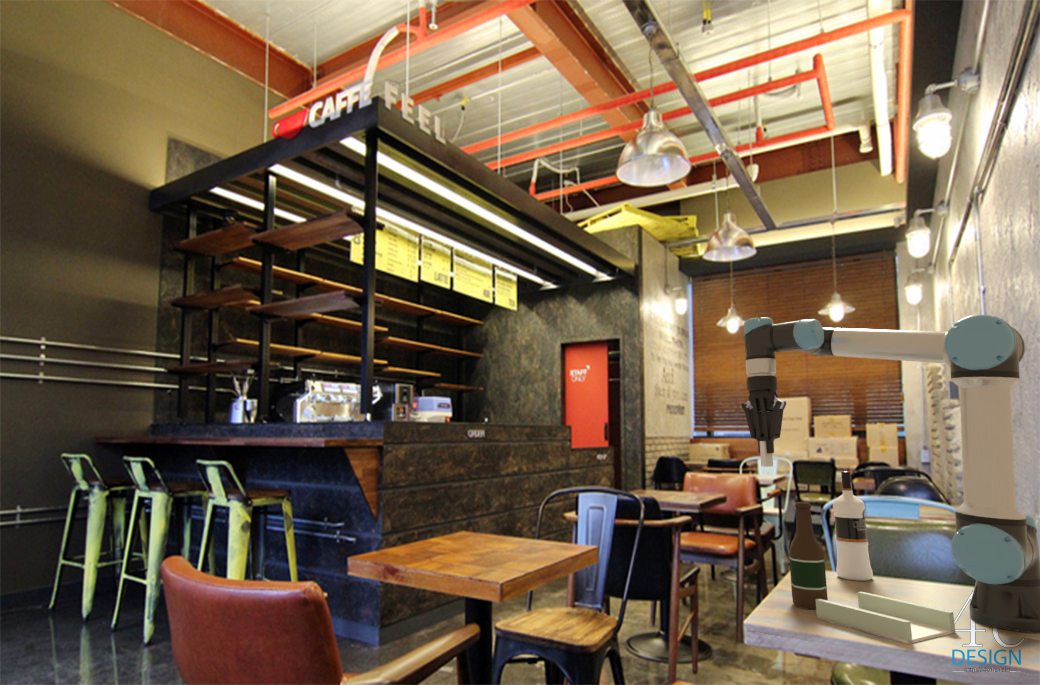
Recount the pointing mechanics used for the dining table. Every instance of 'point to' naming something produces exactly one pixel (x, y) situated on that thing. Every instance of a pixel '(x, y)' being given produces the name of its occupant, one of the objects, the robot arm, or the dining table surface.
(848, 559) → the vodka
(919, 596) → the dining table surface
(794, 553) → the beer bottle
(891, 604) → the rest
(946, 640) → the dining table surface
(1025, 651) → the dining table surface
